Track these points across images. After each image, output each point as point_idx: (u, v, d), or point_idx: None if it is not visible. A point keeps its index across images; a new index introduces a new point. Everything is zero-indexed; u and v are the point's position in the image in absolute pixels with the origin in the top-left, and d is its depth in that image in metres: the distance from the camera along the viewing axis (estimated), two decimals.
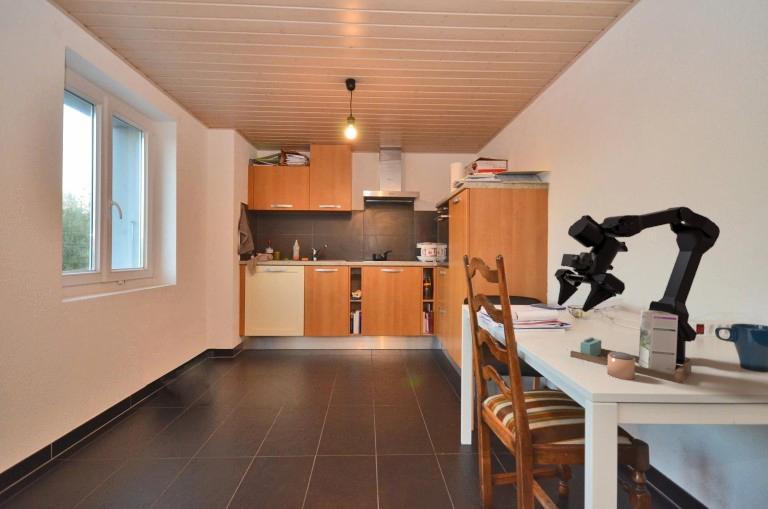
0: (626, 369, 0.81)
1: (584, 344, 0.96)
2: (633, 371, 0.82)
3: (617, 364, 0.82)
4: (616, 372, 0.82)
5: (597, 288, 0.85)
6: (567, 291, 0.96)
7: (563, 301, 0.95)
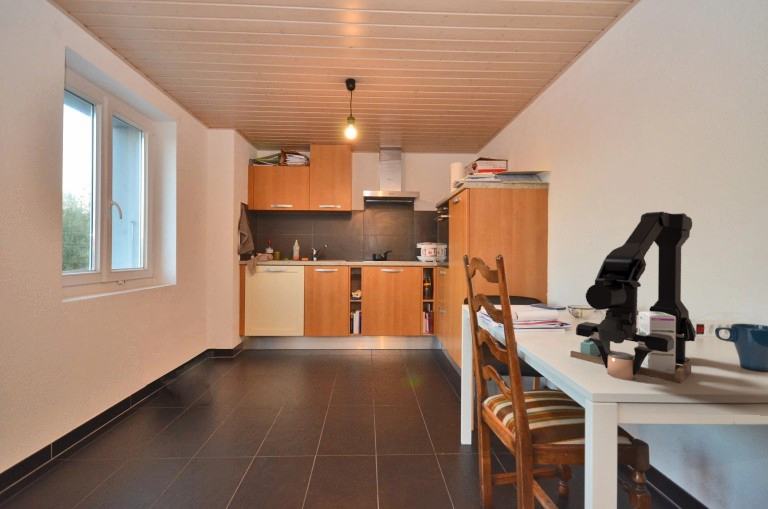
0: (626, 368, 0.81)
1: (584, 344, 0.96)
2: None
3: (617, 364, 0.82)
4: (616, 372, 0.82)
5: None
6: (607, 349, 0.86)
7: None
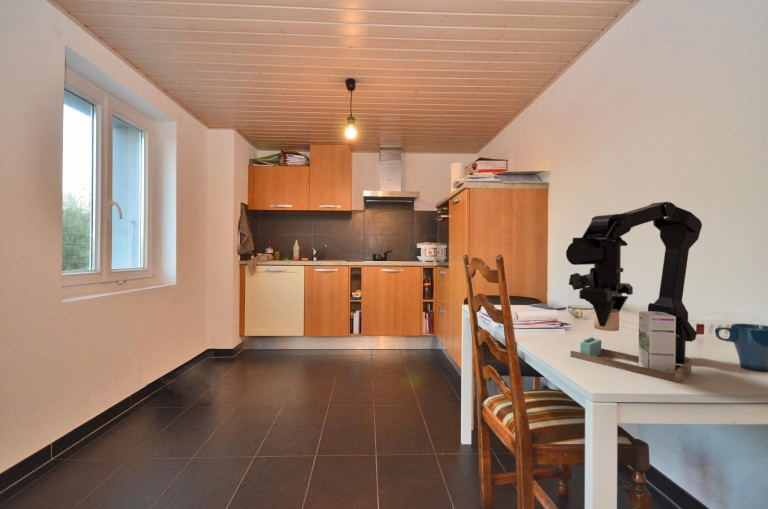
0: (595, 318, 0.91)
1: (584, 344, 0.96)
2: None
3: None
4: None
5: (592, 302, 0.88)
6: None
7: None
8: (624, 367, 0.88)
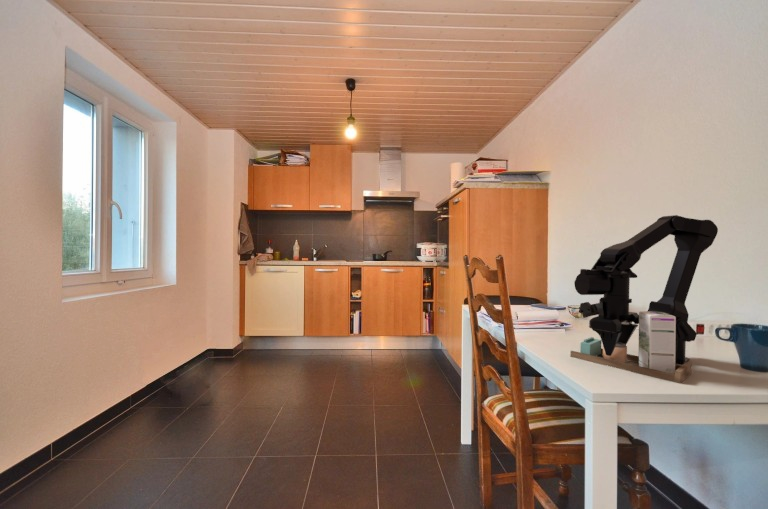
0: (603, 351, 0.95)
1: (584, 344, 0.96)
2: (609, 356, 0.93)
3: None
4: None
5: (599, 332, 0.91)
6: (622, 333, 0.97)
7: None
8: (624, 367, 0.88)
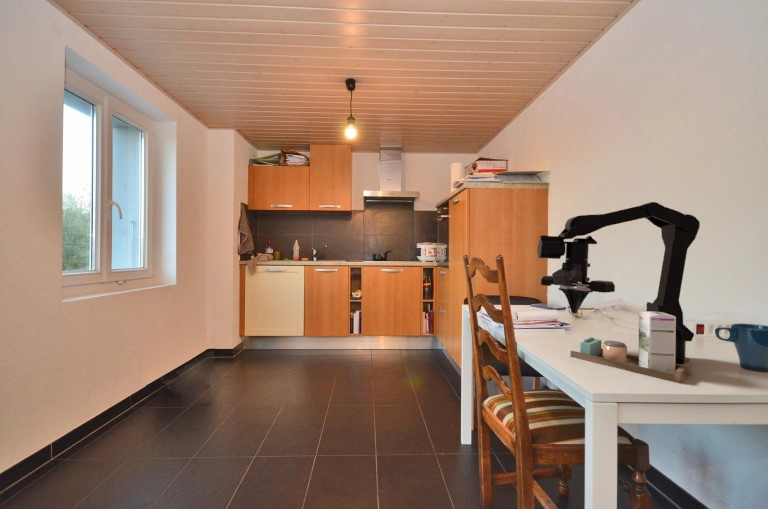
0: (603, 351, 0.95)
1: (584, 344, 0.96)
2: (609, 356, 0.93)
3: None
4: None
5: (579, 294, 0.99)
6: (573, 297, 1.02)
7: None
8: (624, 367, 0.88)
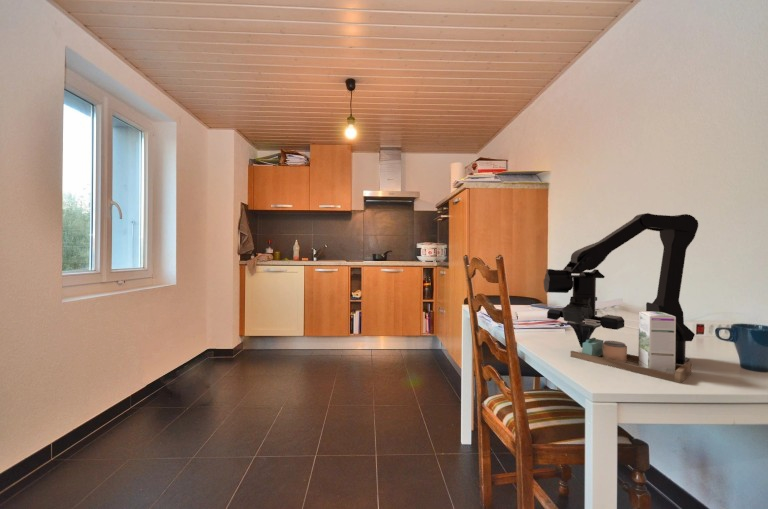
0: (603, 351, 0.95)
1: (586, 344, 0.96)
2: (609, 356, 0.93)
3: None
4: None
5: None
6: (582, 331, 1.01)
7: (583, 342, 1.01)
8: (624, 367, 0.88)
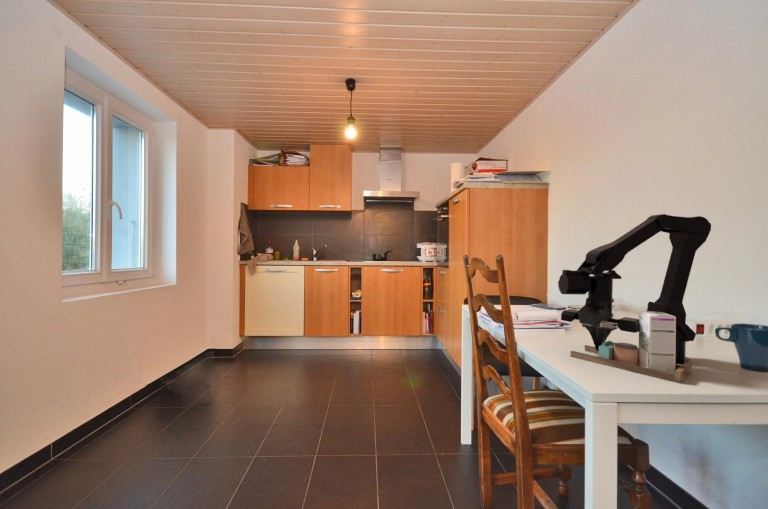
0: (614, 353, 0.93)
1: (602, 348, 0.93)
2: (620, 358, 0.91)
3: None
4: None
5: (605, 331, 0.94)
6: (598, 334, 0.98)
7: None
8: (624, 367, 0.88)
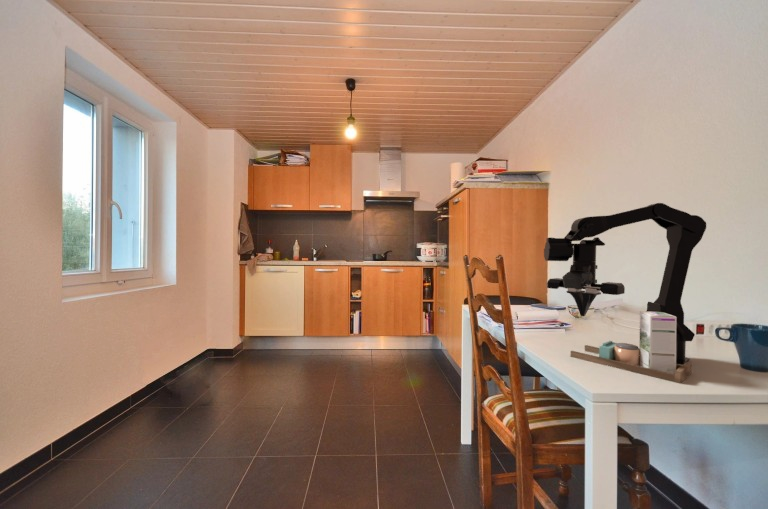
0: (615, 354, 0.92)
1: (603, 348, 0.93)
2: (621, 359, 0.90)
3: None
4: None
5: (589, 296, 0.97)
6: (582, 300, 1.01)
7: None
8: (624, 367, 0.88)
